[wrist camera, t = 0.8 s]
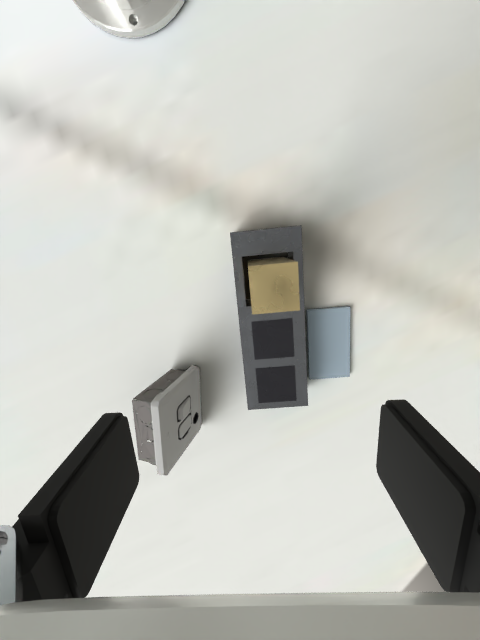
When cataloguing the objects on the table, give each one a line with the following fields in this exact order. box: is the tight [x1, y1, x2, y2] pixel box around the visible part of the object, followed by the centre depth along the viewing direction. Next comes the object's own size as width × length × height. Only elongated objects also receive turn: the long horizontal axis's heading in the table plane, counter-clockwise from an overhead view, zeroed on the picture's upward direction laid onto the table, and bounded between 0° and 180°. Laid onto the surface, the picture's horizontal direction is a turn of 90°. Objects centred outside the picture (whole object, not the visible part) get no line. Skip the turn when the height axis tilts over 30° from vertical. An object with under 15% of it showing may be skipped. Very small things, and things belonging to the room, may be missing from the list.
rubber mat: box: [306, 306, 350, 379], centre depth 34 cm, size 9×5×1 cm, turn 6°
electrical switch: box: [132, 366, 202, 475], centre depth 32 cm, size 9×5×9 cm, turn 0°
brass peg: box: [248, 257, 300, 315], centre depth 27 cm, size 4×4×10 cm
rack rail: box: [230, 225, 308, 410], centre depth 31 cm, size 20×7×4 cm, turn 6°
